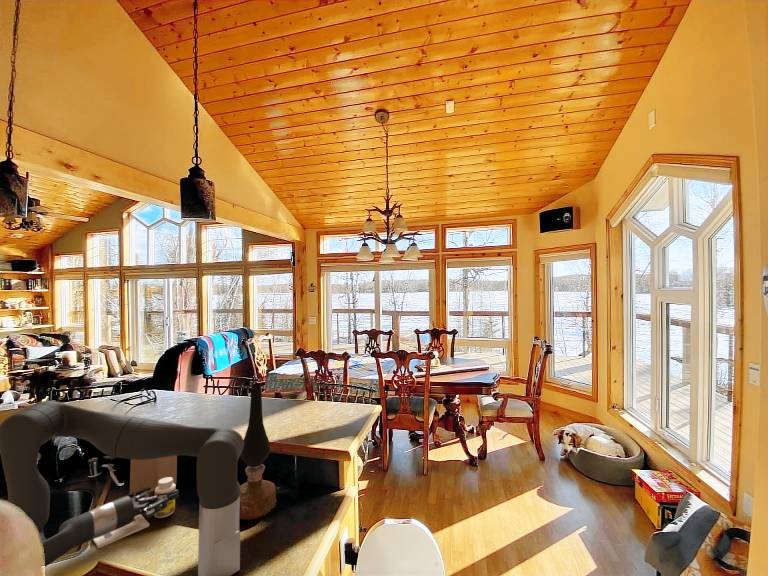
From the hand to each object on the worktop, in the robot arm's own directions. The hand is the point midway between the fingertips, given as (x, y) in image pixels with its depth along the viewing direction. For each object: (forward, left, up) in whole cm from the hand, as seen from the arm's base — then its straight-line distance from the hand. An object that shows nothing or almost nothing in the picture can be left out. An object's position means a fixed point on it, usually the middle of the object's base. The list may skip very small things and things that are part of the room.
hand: (173, 490), depth 112 cm
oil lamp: (-18, -17, -6) cm, 26 cm away
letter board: (+3, +14, -6) cm, 15 cm away
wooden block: (+18, 0, -6) cm, 19 cm away
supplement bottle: (0, +3, -6) cm, 7 cm away
